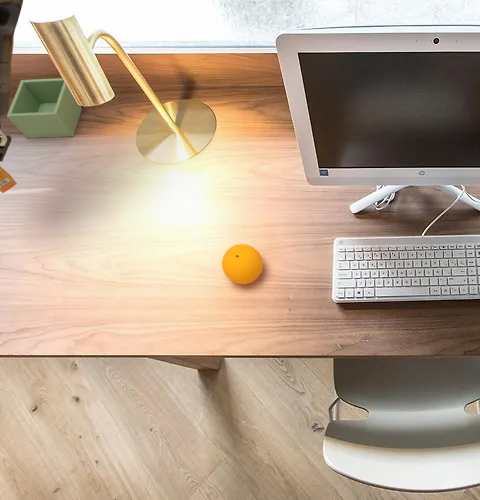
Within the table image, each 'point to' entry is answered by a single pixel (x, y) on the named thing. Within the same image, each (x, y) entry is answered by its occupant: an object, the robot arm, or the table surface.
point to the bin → (44, 109)
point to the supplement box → (6, 180)
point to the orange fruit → (242, 263)
